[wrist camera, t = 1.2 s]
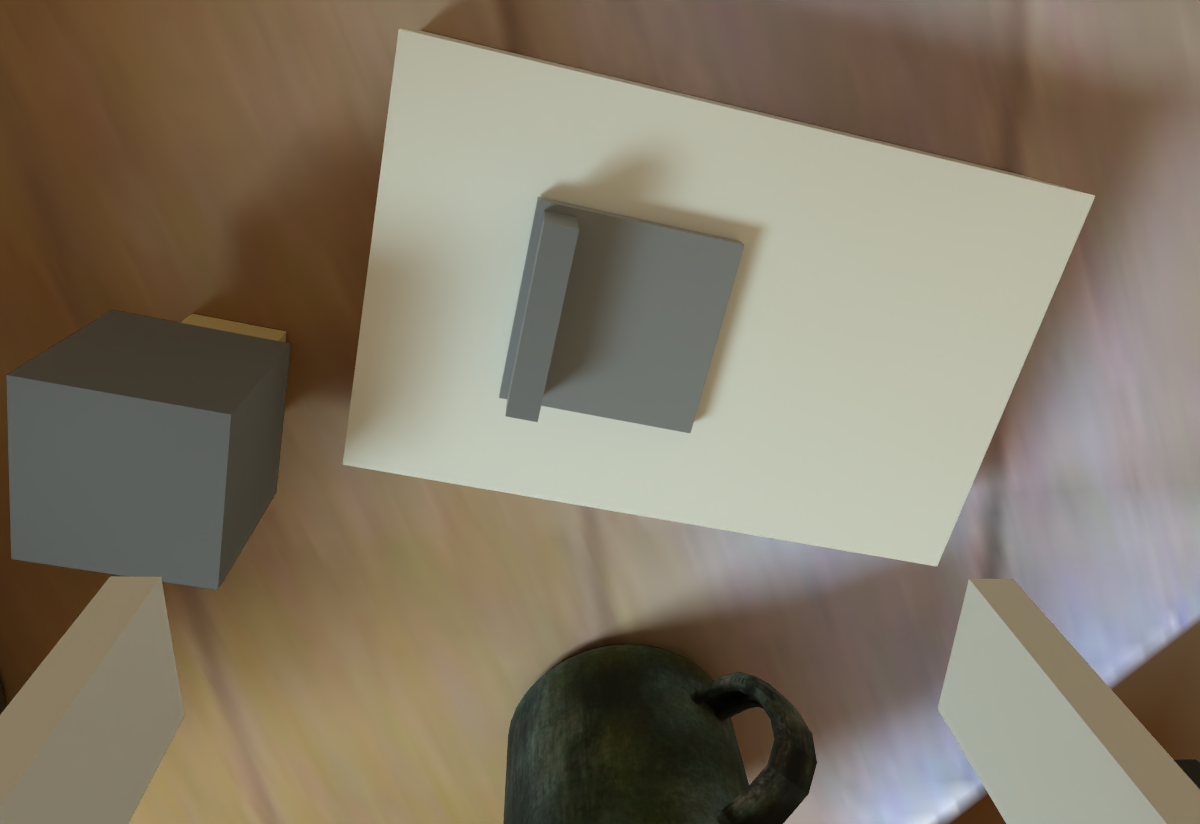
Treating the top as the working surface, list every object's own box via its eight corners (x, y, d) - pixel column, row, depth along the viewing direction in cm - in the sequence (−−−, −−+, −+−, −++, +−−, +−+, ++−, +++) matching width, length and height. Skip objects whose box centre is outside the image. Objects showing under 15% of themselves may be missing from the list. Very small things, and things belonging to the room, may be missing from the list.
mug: (450, 743, 41) (414, 1003, 30) (664, 532, 37) (715, 739, 26) (623, 849, 44) (649, 1119, 33) (837, 664, 40) (946, 899, 29)
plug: (156, 418, 34) (11, 558, 25) (161, 278, 32) (6, 374, 23) (305, 444, 35) (217, 589, 26) (319, 309, 33) (230, 414, 24)
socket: (366, 413, 34) (342, 464, 30) (419, 30, 29) (398, 28, 25) (893, 508, 37) (937, 566, 33) (1024, 175, 32) (1095, 195, 28)
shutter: (499, 391, 29) (495, 422, 27) (537, 196, 27) (537, 211, 25) (688, 426, 30) (699, 459, 28) (740, 240, 28) (758, 259, 26)
